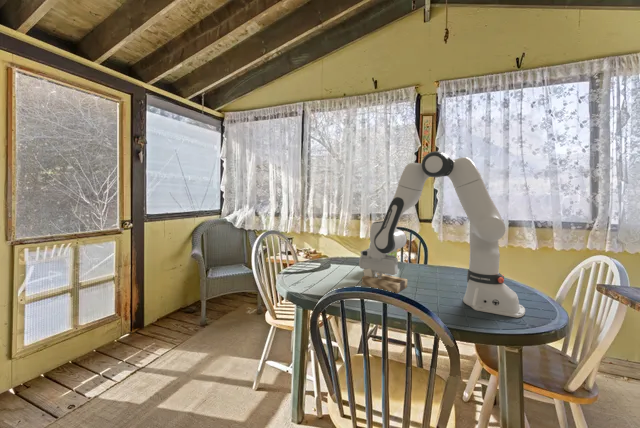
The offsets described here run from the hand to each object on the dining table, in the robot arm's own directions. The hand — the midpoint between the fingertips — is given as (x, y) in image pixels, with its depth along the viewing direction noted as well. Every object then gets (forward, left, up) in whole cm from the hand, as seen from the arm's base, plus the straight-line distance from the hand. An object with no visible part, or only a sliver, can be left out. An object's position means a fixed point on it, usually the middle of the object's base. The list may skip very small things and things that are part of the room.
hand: (377, 279), depth 152 cm
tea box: (+7, -19, -3) cm, 20 cm away
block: (+3, 0, -2) cm, 3 cm away
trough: (-4, 0, -2) cm, 4 cm away
